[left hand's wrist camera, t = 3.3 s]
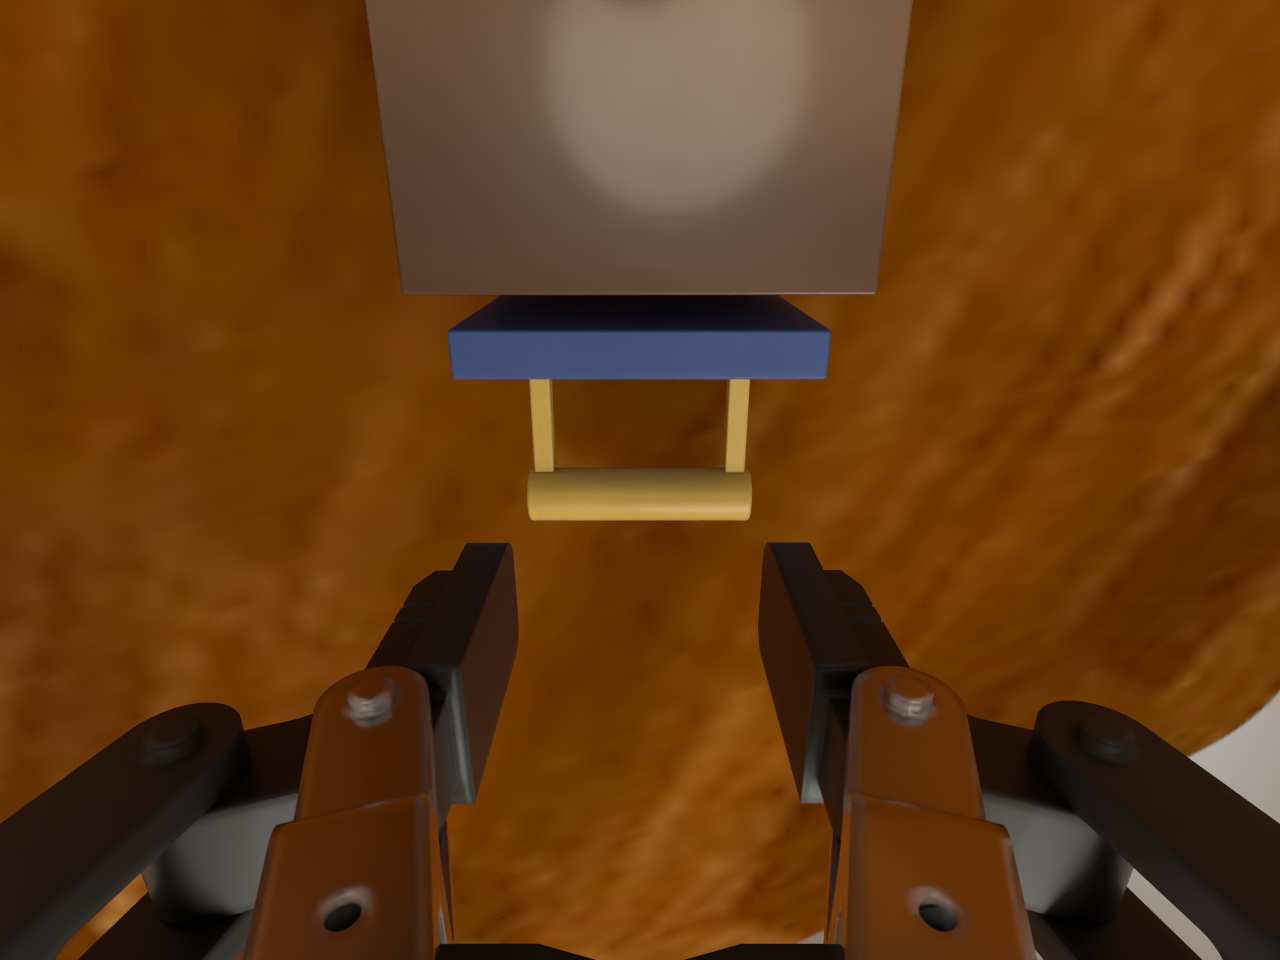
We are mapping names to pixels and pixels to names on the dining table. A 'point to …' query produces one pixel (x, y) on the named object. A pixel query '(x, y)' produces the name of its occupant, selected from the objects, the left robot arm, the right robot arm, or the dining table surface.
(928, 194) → the dining table surface
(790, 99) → the cabinet
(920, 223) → the dining table surface
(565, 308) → the drawer
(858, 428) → the dining table surface
